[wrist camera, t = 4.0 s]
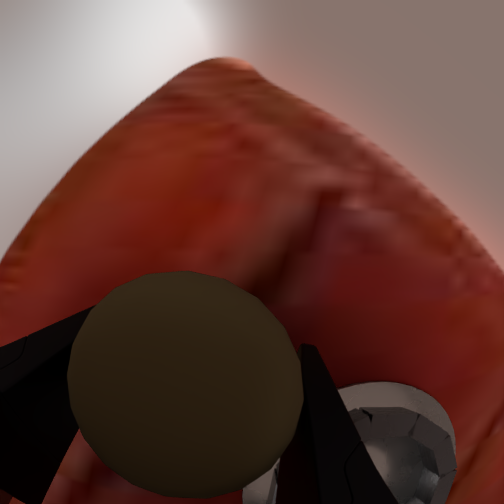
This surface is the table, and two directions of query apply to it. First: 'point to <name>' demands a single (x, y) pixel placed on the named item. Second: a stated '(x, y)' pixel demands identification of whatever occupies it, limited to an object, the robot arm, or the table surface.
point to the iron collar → (392, 443)
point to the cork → (185, 384)
